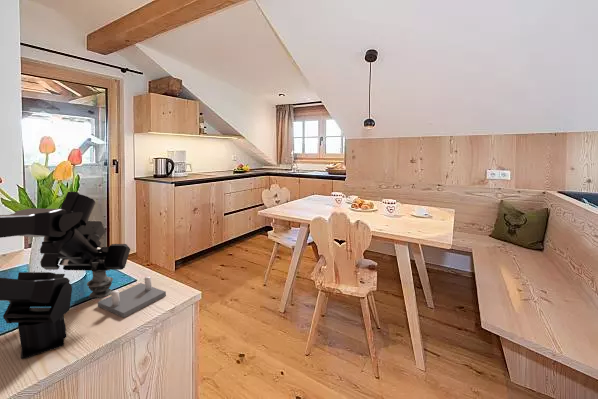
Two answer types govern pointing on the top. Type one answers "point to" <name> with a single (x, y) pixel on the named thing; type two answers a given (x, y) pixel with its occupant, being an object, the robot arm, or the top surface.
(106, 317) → the top surface
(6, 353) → the top surface
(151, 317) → the top surface
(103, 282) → the grey tall turned piece
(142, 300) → the pin tray
